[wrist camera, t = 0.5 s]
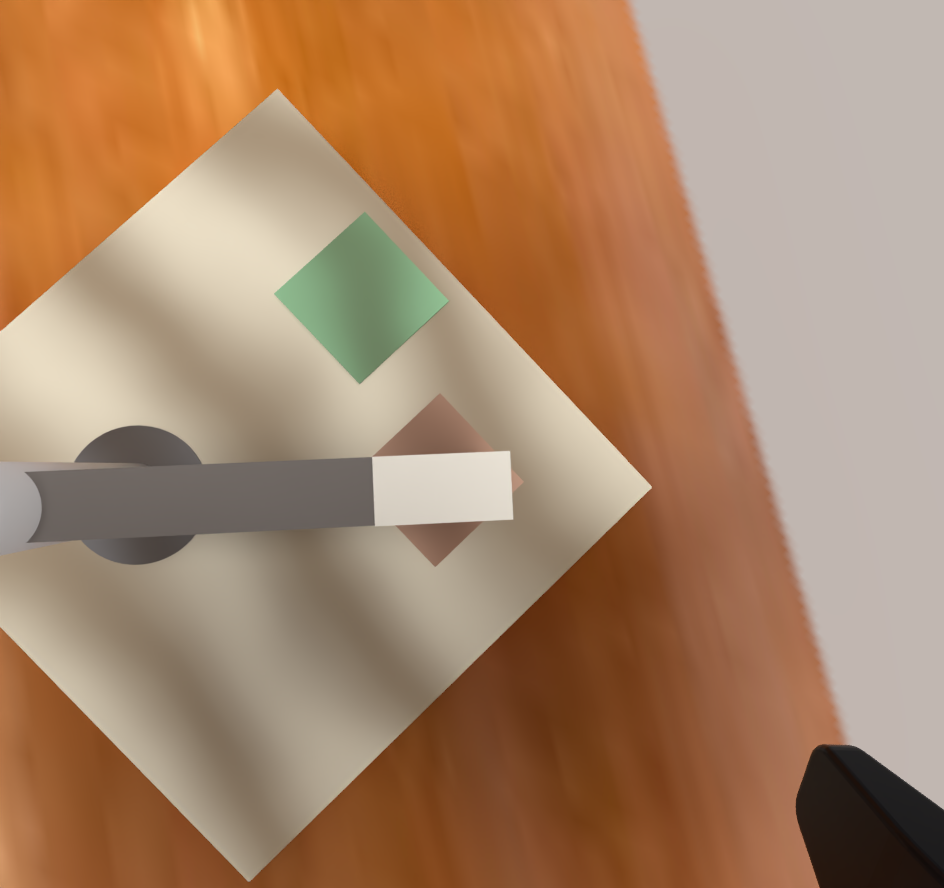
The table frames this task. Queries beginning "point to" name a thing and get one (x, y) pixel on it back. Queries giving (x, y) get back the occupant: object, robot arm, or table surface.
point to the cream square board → (281, 439)
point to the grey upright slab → (246, 496)
